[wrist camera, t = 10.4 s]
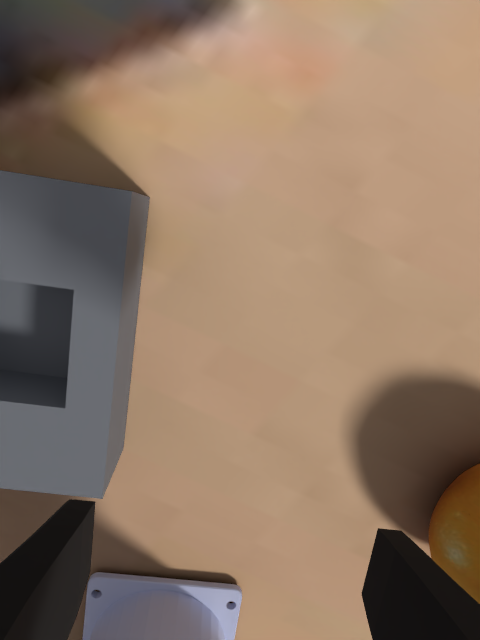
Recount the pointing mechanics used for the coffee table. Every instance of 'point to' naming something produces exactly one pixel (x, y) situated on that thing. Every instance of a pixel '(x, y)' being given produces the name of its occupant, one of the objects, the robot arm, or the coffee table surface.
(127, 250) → the hole board
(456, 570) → the fruit
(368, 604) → the robot arm
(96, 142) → the coffee table surface
